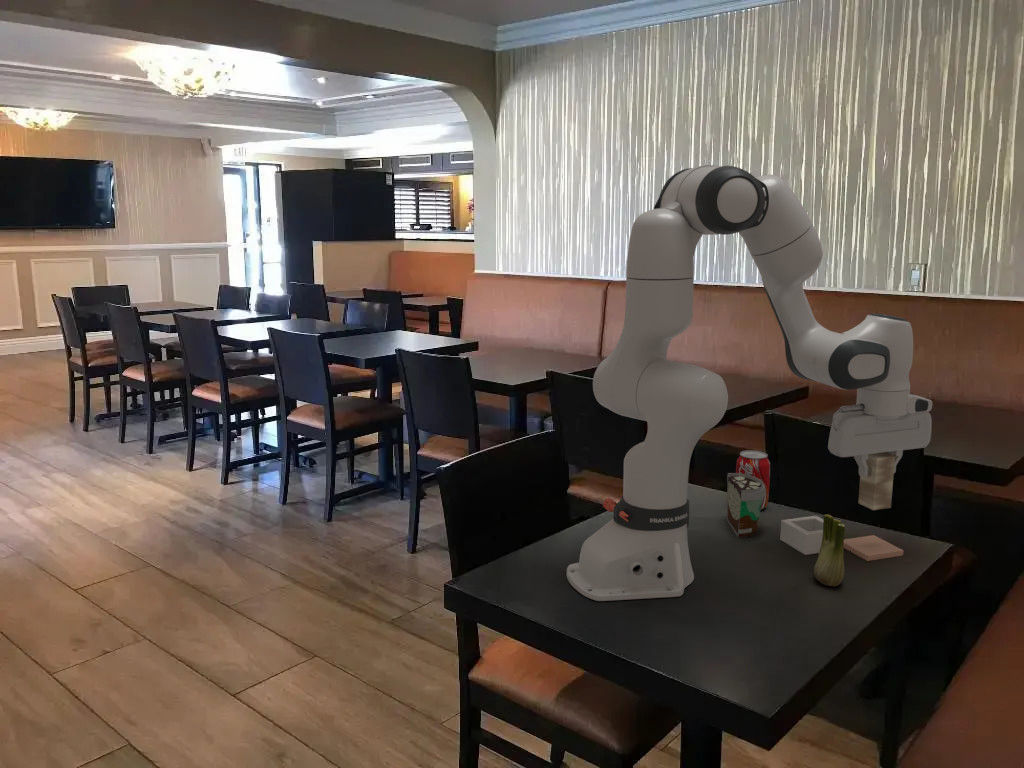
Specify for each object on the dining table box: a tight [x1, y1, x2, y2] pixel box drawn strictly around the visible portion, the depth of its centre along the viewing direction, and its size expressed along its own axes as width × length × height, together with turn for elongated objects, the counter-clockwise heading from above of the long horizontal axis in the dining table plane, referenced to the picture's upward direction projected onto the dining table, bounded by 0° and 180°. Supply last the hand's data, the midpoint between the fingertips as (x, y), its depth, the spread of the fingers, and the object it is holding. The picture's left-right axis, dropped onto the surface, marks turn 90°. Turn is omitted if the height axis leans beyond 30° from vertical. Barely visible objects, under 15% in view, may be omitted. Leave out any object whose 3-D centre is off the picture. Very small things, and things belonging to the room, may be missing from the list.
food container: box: [726, 472, 766, 538], centre depth 173 cm, size 12×6×10 cm, turn 179°
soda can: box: [735, 449, 771, 511], centre depth 185 cm, size 7×7×12 cm
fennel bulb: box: [813, 513, 846, 587], centre depth 147 cm, size 6×5×12 cm
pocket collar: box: [779, 515, 824, 556], centre depth 164 cm, size 8×8×4 cm
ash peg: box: [858, 452, 895, 511], centre depth 159 cm, size 4×4×10 cm
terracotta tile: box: [843, 534, 904, 562], centre depth 162 cm, size 8×8×1 cm
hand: (876, 474), depth 159 cm, fingers closed on ash peg, 4 cm apart
